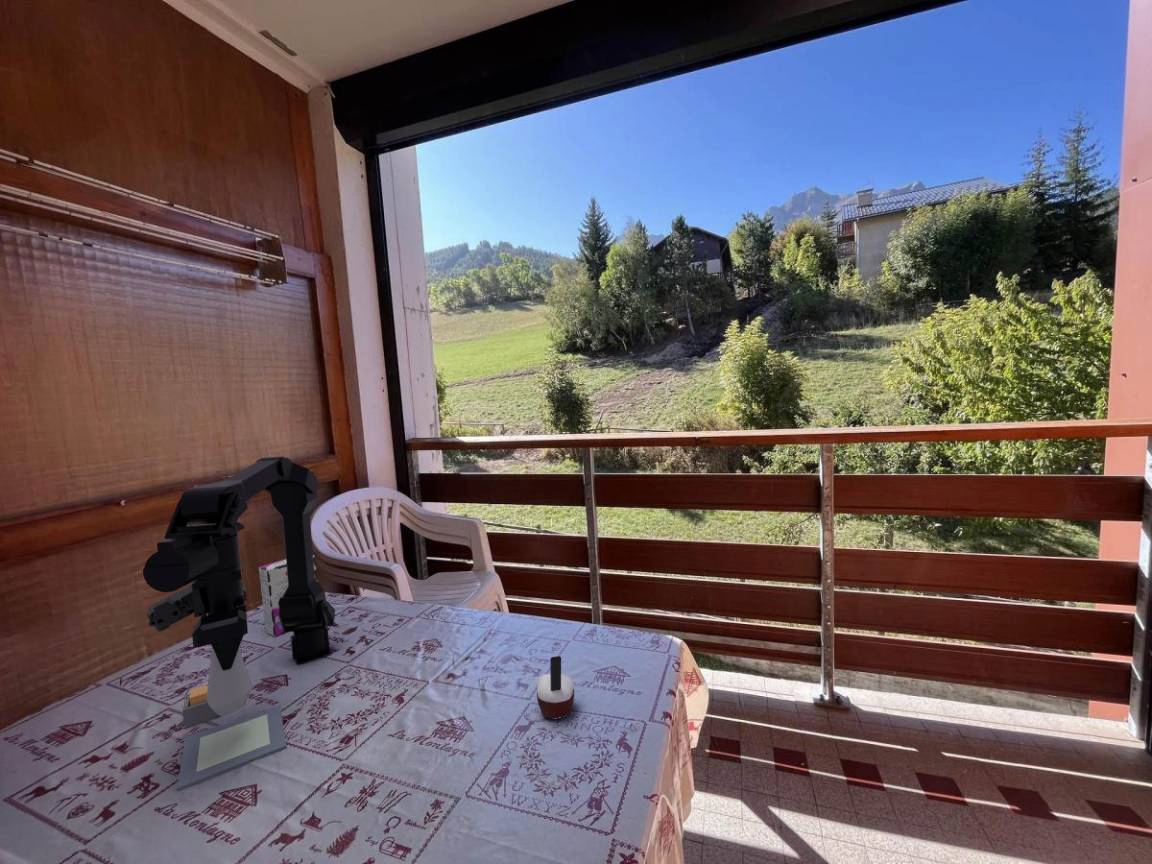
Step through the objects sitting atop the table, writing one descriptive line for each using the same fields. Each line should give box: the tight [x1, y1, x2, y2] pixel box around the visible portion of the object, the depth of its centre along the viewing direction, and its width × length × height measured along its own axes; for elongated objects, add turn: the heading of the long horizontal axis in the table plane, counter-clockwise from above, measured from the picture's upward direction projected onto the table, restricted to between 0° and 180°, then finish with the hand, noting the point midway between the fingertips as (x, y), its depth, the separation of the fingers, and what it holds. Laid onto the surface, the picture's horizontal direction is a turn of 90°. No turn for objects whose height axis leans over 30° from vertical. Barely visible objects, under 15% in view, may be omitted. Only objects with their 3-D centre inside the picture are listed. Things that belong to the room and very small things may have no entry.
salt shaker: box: [207, 644, 253, 717], centre depth 74 cm, size 6×6×13 cm
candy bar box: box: [258, 554, 318, 638], centre depth 116 cm, size 11×5×16 cm, turn 147°
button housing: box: [182, 694, 221, 730], centre depth 82 cm, size 5×5×3 cm
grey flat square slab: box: [176, 704, 287, 791], centre depth 75 cm, size 13×13×1 cm
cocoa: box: [536, 655, 575, 719], centre depth 78 cm, size 10×6×12 cm, turn 167°
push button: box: [189, 684, 208, 706], centre depth 82 cm, size 3×3×3 cm
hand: (227, 664), depth 74 cm, fingers closed on salt shaker, 3 cm apart
